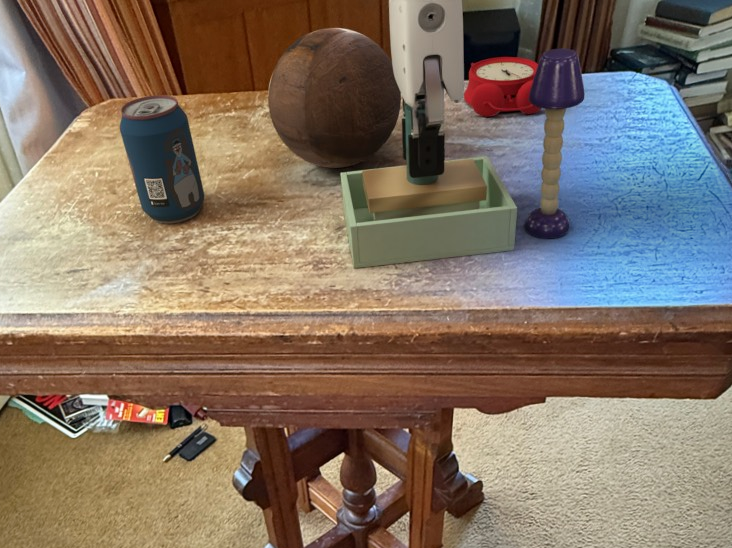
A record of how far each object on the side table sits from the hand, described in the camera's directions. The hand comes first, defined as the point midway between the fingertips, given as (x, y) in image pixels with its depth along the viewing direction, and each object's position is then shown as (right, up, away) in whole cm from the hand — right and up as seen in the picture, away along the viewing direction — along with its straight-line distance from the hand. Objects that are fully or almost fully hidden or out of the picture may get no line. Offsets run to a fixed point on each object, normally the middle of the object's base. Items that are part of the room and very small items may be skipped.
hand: (423, 164), depth 68 cm
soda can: (-26, -3, +12) cm, 29 cm away
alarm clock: (+14, +14, +28) cm, 35 cm away
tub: (+1, -6, +4) cm, 7 cm away
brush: (0, -3, +3) cm, 4 cm away
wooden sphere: (-8, +5, +19) cm, 21 cm away
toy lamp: (+12, -6, +3) cm, 14 cm away
